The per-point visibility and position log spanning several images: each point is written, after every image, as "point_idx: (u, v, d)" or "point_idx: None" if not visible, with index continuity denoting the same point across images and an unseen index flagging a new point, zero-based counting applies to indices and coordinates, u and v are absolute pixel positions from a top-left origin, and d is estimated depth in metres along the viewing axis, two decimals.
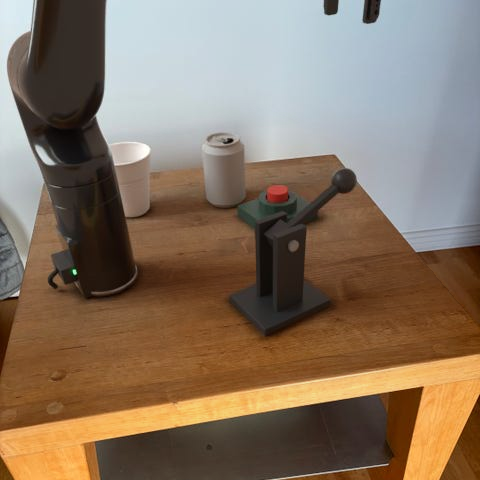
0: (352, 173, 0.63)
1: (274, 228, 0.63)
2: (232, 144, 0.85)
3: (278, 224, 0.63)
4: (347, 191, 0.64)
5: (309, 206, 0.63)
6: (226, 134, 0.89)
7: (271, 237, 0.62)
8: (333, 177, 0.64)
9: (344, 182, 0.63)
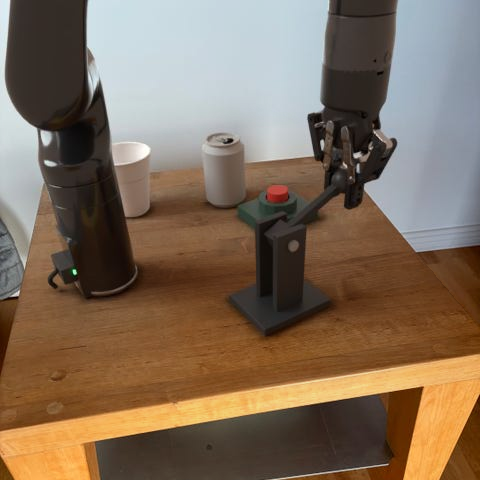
0: None
1: (274, 228, 0.63)
2: (232, 144, 0.85)
3: (278, 224, 0.63)
4: None
5: (309, 206, 0.63)
6: (226, 134, 0.89)
7: (271, 237, 0.62)
8: (333, 177, 0.64)
9: (344, 182, 0.63)
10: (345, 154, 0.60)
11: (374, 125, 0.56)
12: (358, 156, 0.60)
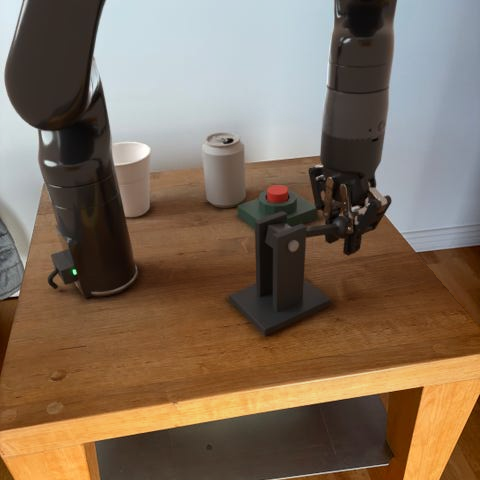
0: None
1: (279, 225, 0.63)
2: (232, 144, 0.85)
3: (283, 225, 0.63)
4: (344, 235, 0.68)
5: (312, 227, 0.66)
6: (226, 134, 0.89)
7: (275, 229, 0.62)
8: (337, 218, 0.68)
9: None
10: (344, 208, 0.65)
11: (370, 183, 0.61)
12: (356, 209, 0.65)
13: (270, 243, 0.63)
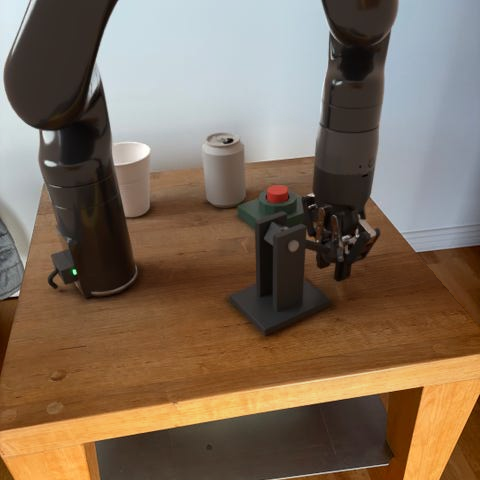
0: None
1: (281, 225, 0.63)
2: (232, 144, 0.85)
3: (285, 226, 0.64)
4: (333, 258, 0.70)
5: (308, 240, 0.67)
6: (226, 134, 0.89)
7: (279, 226, 0.62)
8: (330, 241, 0.70)
9: None
10: (335, 237, 0.67)
11: (360, 216, 0.64)
12: (346, 239, 0.67)
13: (270, 239, 0.63)
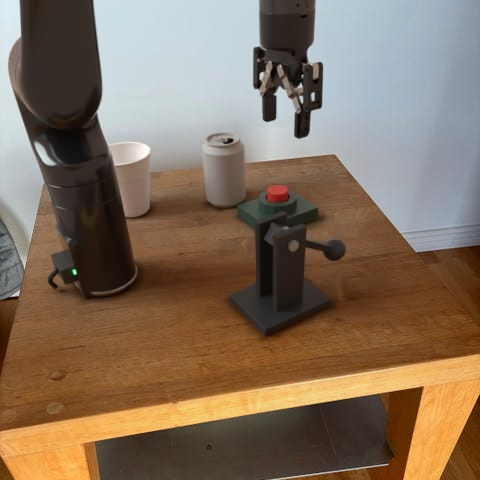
0: (345, 247, 0.70)
1: (281, 225, 0.63)
2: (232, 144, 0.85)
3: (285, 226, 0.64)
4: (334, 256, 0.69)
5: (308, 239, 0.67)
6: (226, 134, 0.89)
7: (279, 227, 0.62)
8: (331, 239, 0.70)
9: (339, 247, 0.69)
10: (286, 88, 0.70)
11: None
12: None
13: (270, 240, 0.63)
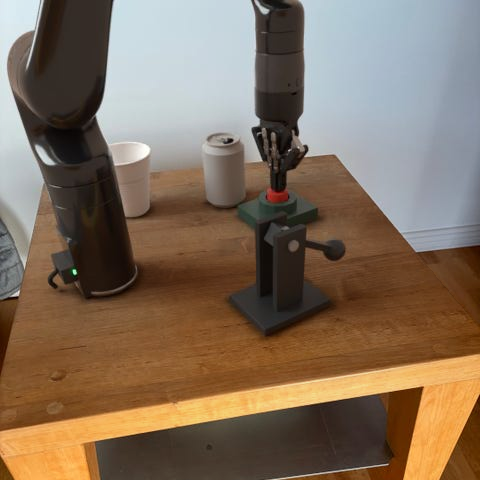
0: (345, 247, 0.70)
1: (281, 225, 0.63)
2: (232, 144, 0.85)
3: (285, 226, 0.64)
4: (334, 256, 0.69)
5: (308, 239, 0.67)
6: (226, 134, 0.89)
7: (279, 227, 0.62)
8: (331, 239, 0.70)
9: (339, 247, 0.69)
10: (273, 151, 0.79)
11: (294, 131, 0.76)
12: (282, 153, 0.80)
13: (270, 240, 0.63)
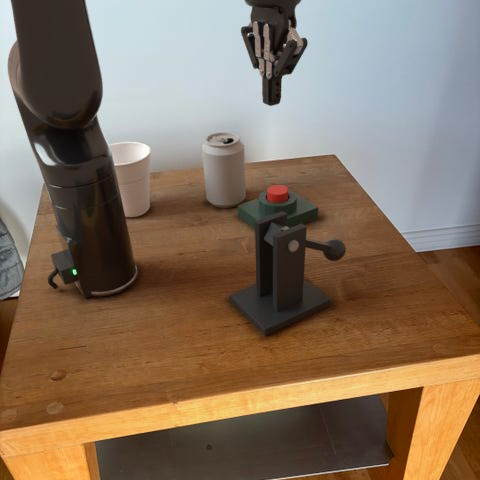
0: (345, 247, 0.70)
1: (281, 225, 0.63)
2: (232, 144, 0.85)
3: (285, 226, 0.64)
4: (334, 256, 0.69)
5: (308, 239, 0.67)
6: (226, 134, 0.89)
7: (279, 227, 0.62)
8: (331, 239, 0.70)
9: (339, 247, 0.69)
10: (265, 50, 0.68)
11: (290, 21, 0.64)
12: (277, 54, 0.69)
13: (270, 240, 0.63)
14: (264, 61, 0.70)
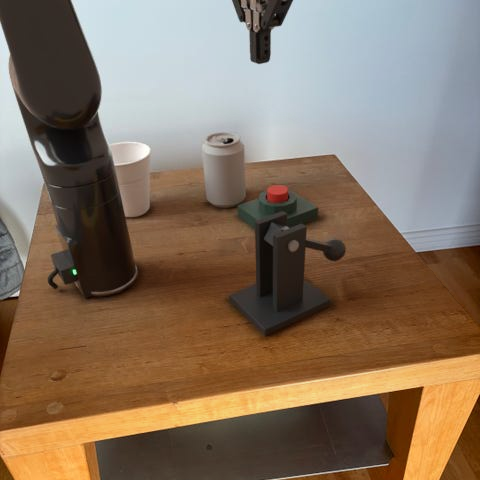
0: (345, 247, 0.70)
1: (281, 225, 0.63)
2: (232, 144, 0.85)
3: (285, 226, 0.64)
4: (334, 256, 0.69)
5: (308, 239, 0.67)
6: (226, 134, 0.89)
7: (279, 227, 0.62)
8: (331, 239, 0.70)
9: (339, 247, 0.69)
10: None
11: None
12: (264, 2, 0.61)
13: (270, 240, 0.63)
14: (251, 12, 0.62)
